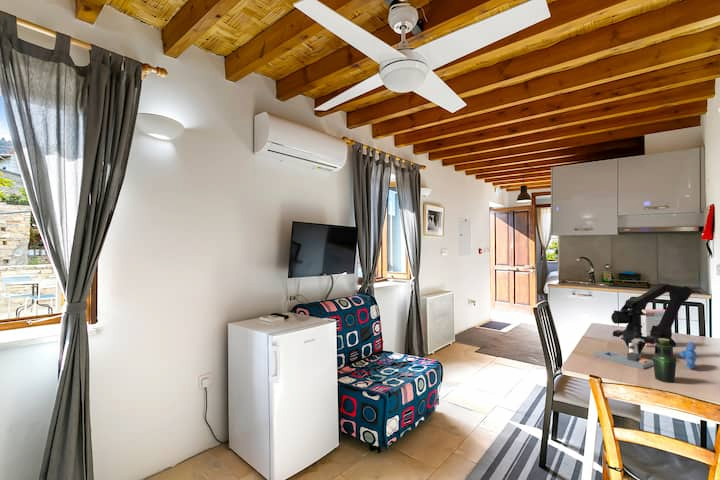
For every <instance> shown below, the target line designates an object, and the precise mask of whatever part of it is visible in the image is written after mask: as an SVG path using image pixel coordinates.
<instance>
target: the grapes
mask: <svg viewBox="0 0 720 480" xmlns="http://www.w3.org/2000/svg"><path fill="white" fill-rule="evenodd" d="M696 348H697V347H696V345H695V344H694V343H693V342H688V343H687V344H686V347H685V350H682V351H680V352H679V353H678V355H679V356H680V357H681V358H684V359H685V362H686V364H685V365H686V366H687V368H688V369H690V370H692V369H694V368H696V367H697V364H696V361H697V358H698V357H699V356H698V354H697V353H696V351H695V350H696Z"/></svg>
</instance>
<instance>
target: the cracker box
mask: <svg viewBox="0 0 720 480" xmlns="http://www.w3.org/2000/svg"><path fill="white" fill-rule="evenodd" d="M665 310H666V308H665V309H663V308H661V309H654V308H653V309H652V308H651V309H650V308H649V309H645V308H644V309H643V310H642V312H643V313H645V314H646V315H641V325H642V328H641V333H642V335H641V336H644V337H645V336H650V333H651V332H650V331H651V329H652V326H653V325H654V326H657V325H659V323H660V321H661V319H662V317H663V315H664V312H665ZM671 332H672V333H673V326H672V327H671ZM671 339H673V335H672V336H671ZM655 346H656V343H655V344H650V343H646V344H645V346H644V347H649V348H651V347H653V348H655Z"/></svg>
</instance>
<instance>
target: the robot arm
mask: <svg viewBox="0 0 720 480" xmlns="http://www.w3.org/2000/svg"><path fill="white" fill-rule="evenodd" d="M666 293H669V294H668V295H669V302H668V304H667V305H666V308H665V312H664V315H663V317H662V319H661V321H660V323H659V325H657V326H654V325H653V326H652V329H651V331H650V332H651V333H650V336H645V337H644V336H641V335H642V333H641V328H642V325H641V315H646V314H645V313H643V312H642V310H643V309H645V308H646V307H647V305H648V304H649V303H651V302H652V301H654V300H656V299H657V298H659V297H660V296H662V295H664V294H666ZM691 296H692V290H691V288H690V287H689V286H686V285H678V284H674V285H673V284H669V283H665V282H660V283H658V285H656V286H655V287H652V288H651V289H650V290H648V291H646V292H644V293H642V294H641V295H638V296H634V297H631V298H628V299H626V301H625V302H624V305H623V306H622V307H621V308H620V310H617V309H616V310H613V313H612V314H611V317H610V319H611V321H612V323H613V324H620V325H621V324H625V325H626V326H625V329H624V330H622V329H617V330H615V329H614V330H613V332H612V337H617V338H619V337H620V339H621V340H623V342H625V345H626V347H627V350H629V343H631V342H633V340H635V339H636V340H638V341H637V343H638V344H639V347H638V353H639V354H640V353H641V354H642V351H643V350H644V347H646V346H645V344H646V343H650V344H655V343H656V344H657V343H659V338H664V339H669V340H670V341H669V344H670V345H672V347H673V349H670V350H669V353H668V354H670V355H671V356H673V357H675V355H674V348H675V347H676V346H677V342H676V341H675V340H674V339H673V338H672V339H671V336H672V337H673V331H672V332H671V327H672V328H673V325H674V322H675V319H676V318H677V315H678V312H679V311H680V308H681V307H682V304H684V303H685V302H686V301H688V299H689V298H690V297H691ZM657 353H660V351H659V348H658V347H656V346H655V347H654V354H657Z"/></svg>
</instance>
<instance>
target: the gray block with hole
mask: <svg viewBox="0 0 720 480" xmlns="http://www.w3.org/2000/svg"><path fill="white" fill-rule="evenodd" d="M593 354H594V356H595V358H597V359H602V360H606V361H610V362H613V363H616V364H617V363H618V364H622V365H624V366H629V367H632V368H633V367H634V368H637V369H639V370H640V369H641V370H645V369H648V368H649V367H654V364H653V360H650V359H649V360H648V359H645V358H641V357H640V354H638V353H634V352H631V353H629V352H628V353H627V354H623V353H620V352H617V351H616V352H615V351H610V350H606V349H603V350H599V351H597V352H594V353H593Z"/></svg>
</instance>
